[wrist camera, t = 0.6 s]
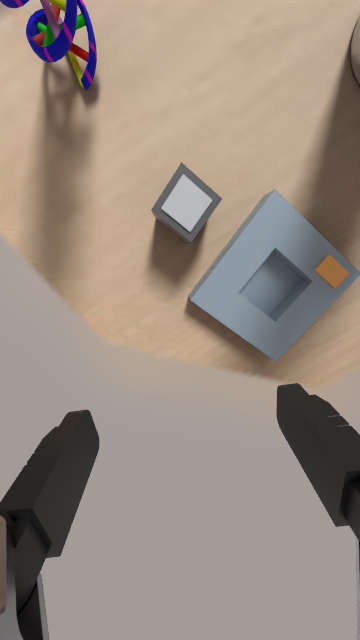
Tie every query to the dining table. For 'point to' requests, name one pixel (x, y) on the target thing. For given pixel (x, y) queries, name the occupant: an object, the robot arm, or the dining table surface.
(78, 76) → the dna model
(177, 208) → the plug
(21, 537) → the robot arm
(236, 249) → the socket plate
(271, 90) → the dining table surface
